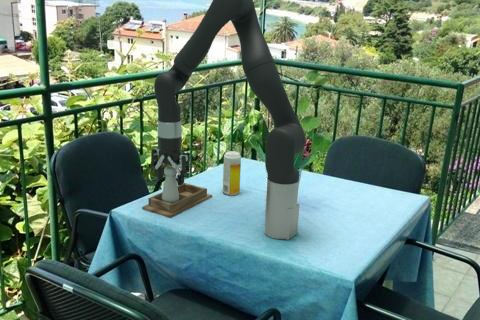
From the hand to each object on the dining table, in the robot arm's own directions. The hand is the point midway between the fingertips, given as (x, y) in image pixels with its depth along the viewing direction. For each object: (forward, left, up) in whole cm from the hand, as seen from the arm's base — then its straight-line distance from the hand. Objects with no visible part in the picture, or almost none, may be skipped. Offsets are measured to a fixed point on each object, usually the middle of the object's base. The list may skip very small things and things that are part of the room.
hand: (170, 182), depth 169 cm
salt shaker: (0, 0, -8) cm, 8 cm away
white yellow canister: (-9, -24, -9) cm, 27 cm away
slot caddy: (0, -5, -9) cm, 10 cm away
